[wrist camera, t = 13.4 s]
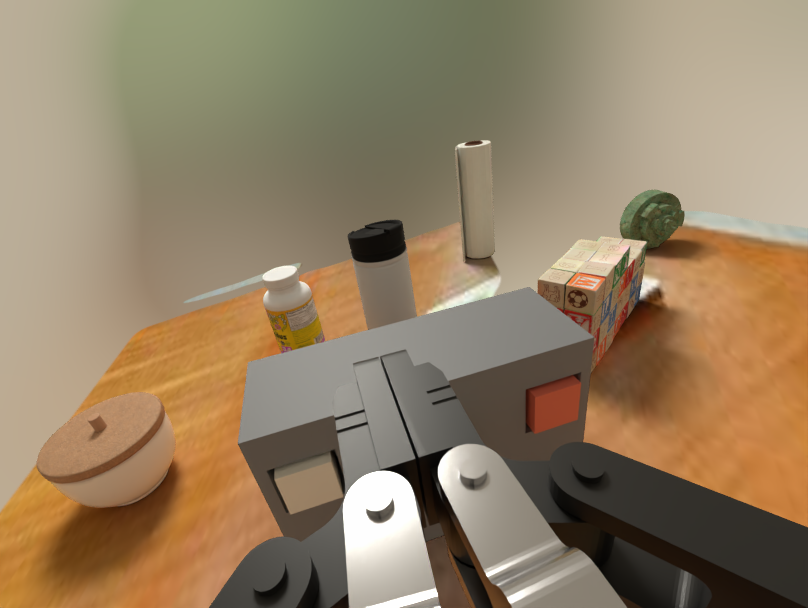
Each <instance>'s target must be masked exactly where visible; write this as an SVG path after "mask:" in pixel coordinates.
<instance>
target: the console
mask: <svg viewBox="0 0 808 608" xmlns="http://www.w3.org/2000/svg"><path fill="white" fill-rule="evenodd" d="M593 346H594V336H592V335H591V334H590V333H588V332H587V331H586V330H584V329H583V328H582V327H581V326H579V325H578V324H577V323H575V322H574V321H573V320H571V319H570V318H569V317H568V316H566V315H565V314H564V313H562V312H561V311H560V310H559V309H557V308H556V307H555V306H553V305H552V304H551V303H549V302H548V301H547V300H546V299H544V298H543V297H542V296H540V295H539V294H538V293H536V292H535V291H534V290H533V289H531V288H530V287H527V288H523V289H520V290H516V291H512V292H509V293H505V294H501V295H497V296H494V297H490V298H486V299H482V300H479V301H475V302H471V303H467V304H464V305H460V306H456V307H453V308H449V309H445V310H441V311H438V312H434V313H430V314H426V315H423V316H419V317H415V318H411V319H408V320H404V321H400V322H397V323H393V324H389V325H385V326H382V327H378V328H374V329H370V330H367V331H363V332H359V333H356V334H352V335H348V336H344V337H341V338H337V339H333V340H329V341H326V342H322V343H318V344H314V345H311V346H307V347H303V348H300V349H296V350H292V351H288V352H285V353H281V354H277V355H273V356H270V357H266V358H262V359H259V360H255V361H251V362H248V368H247V376H246V383H245V391H244V399H243V407H242V415H241V423H240V431H239V439H238V445H239V447H240V449H241V451H242V453H243V455H244V457H245V459H246V461H247V463H248V465H249V467H250V469H251V471H252V473H253V475H254V477H255V479H256V481H257V483H258V485H259V487H260V489H261V491H262V493H263V495H264V497H265V499H266V501H267V503H268V505H269V507H270V509H271V511H272V513H273V515H274V517H275V519H276V521H277V524H278V526H279V528H280V530H281V532H282V534H283V536H284V537H291V538H295V539H297V540H299V541H300V542H302V541H303V540H305V539H306V538H307V537H309V536H310V535H312V534H313V533H315V532H316V531H318V530H319V529H320V528H322V527H323V526H324V525H326V524H327V523H328V522H329V521H330V520H331V519H332V518H333V517H334V515H335V514H336V513H337V511H338V510H339V508H340V506H341V504H342V502H343V499H344V495H345V479H344V472H343V466H342V460H341V454H340V448H339V441H338V435H337V429H336V423H335V417H334V410H333V404H332V402H333V399H334V396H335V393H336V391H337V388H338V387H340V386H343V385H347V384H351V383H354V382H357V380H356V375H355V371H354V367H353V363H356V362H360V361H363V360H367V359H371V358H375V357H379V359H380V356H382V355H386V354H389V353H393V352H397V351H401V350H405V349H406V350H407V352H408V354H409V356H410V358H411V360H412V363H413V365H414V366H416V365H420V364H423V363H427V362H430V363H431V364H432V365H434V366H435V367H437V368H438V369H440V370H441V371H443V373H444V375H445V377H446V378H447V380H448V382H449V384H450V387H452V389H453V391H454V393H455V394H456V397H457V398H458V400H459V401H460V403H461V405H462V407H463V408H464V410H465V412H466V414H467V415H468V417H469V419H470V421H471V422H472V424H473V426H474V428H475V429H476V431H477V433H478V435H479V436H480V438H481V440H482V441H483V443H484V444H485V445H486V446H487V447H488V448H490V449H492V450H493V451H495V452H496V453H497V454H498V455H499V456H502V457H504V458H507V459H511V460H516V461H550V458H551V455H552V454H553V452H554V451H555V450H556V449H557V448H558V447H560V446H561V445H564V444H566V443H571V442H583V439H584V430H585V420H586V411H587V402H588V393H589V383H590V374H591V365H592V355H593ZM380 362H381V360H380ZM571 375H573V376H574V377H575V378H576V379H578V380H579V381H580V382H581V390H580V401H579V411H578V420H575V421H572V422H569V423H566V424H563V425H560V426H557V427H554V428H551V429H548V430H545V431H542V432H539V433H536V434H534V433H533V431H532V430H531V429H530V427H529V426H528V425H527V423H526V422H525V420H526V389H529V388H532V387H535V386H539V385H542V384H545V383H548V382H551V381H555V380H558V379H561V378H564V377H567V376H571ZM331 450H334V453H335V456H336V459H337V462H338V466H339V472H340V479H341V485H342V492H343V497H342V498H339V499H336V500H333V501H330V502H327V503H324V504H321V505H318V506H315V507H312V508H309V509H306V510H303V511H300V512H297V513H294V514H291V515H290V513H289V510H288V508H287V506H286V504H285V502H284V500H283V497H282V495H281V493H280V491H279V489H278V487H277V484H276V482H275V480H274V470H275V468H276V467H280V466H283V465H286V464H289V463H292V462H296V461H299V460H302V459H305V458H308V457H312V456H315V455H318V454H321V453H324V452H328V451H331ZM424 513H425V511H424ZM425 519H426V525H427V527H426V528H423V529H424V535H425V541H426V542H427V541H429V540H432V539H435V538H438V537H440V536H443V535H444V533H443V530H442V527H441V525H440V523H437V524H434V525H431V526H429V523H428V520H427V517H426V514H425Z"/></svg>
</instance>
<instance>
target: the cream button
mask: <svg viewBox="0 0 808 608" xmlns="http://www.w3.org/2000/svg"><path fill="white" fill-rule="evenodd" d="M274 480H275V482H276V484H277V487H278V489H279V491H280V493H281V495H282V497H283V500H284V502H285V504H286V506H287V508H288V510H289V513H290V515H291V514H294V513H297V512H300V511H303V510H306V509H309V508H312V507H315V506H318V505H321V504H324V503H327V502H330V501H333V500H336V499H339V498H342V497H343V492H342V485H341V479H340V472H339V466H338V462H337V459H336V456H335V453H334V450H331V451H328V452H324V453H321V454H318V455H315V456H312V457H308V458H305V459H302V460H299V461H296V462H292V463H289V464H286V465H283V466H280V467H276V468H275V470H274Z"/></svg>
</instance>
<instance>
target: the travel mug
mask: <svg viewBox="0 0 808 608" xmlns="http://www.w3.org/2000/svg"><path fill="white" fill-rule="evenodd" d="M348 240H349V244H350V249H351V253H352V260H353V265H354V269H355V274H356V278H357V282H358V287H359V291H360V296H361V300H362V305H363V309H364V314H365V318H366V323H367V327H368V330H370V329H374V328H378V327H382V326H385V325H389V324H393V323H397V322H400V321H404V320H408V319H411V318H415V317H417V314H416V307H415V301H414V294H413V287H412V281H411V274H410V267H409V261H408V254H407V247H406V244H405V241H404V240H405V237H404V231H403V224H402V222H401V221H400V220H386V221H380V222H375V223H372V224H369V225H366V226H365V228H362V229H360V230H357V231H355V232H354V231H352V232H351V233H349V234H348Z"/></svg>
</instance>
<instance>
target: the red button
mask: <svg viewBox="0 0 808 608" xmlns="http://www.w3.org/2000/svg"><path fill="white" fill-rule="evenodd" d="M580 390H581V382H580V381H579V380H578V379H576V378H575V377H574V376H573V375H571V376H567V377H564V378H561V379H558V380H555V381H551V382H548V383H545V384H542V385H539V386H535V387H532V388H529V389H526V420H525V422H526V423H527V425H528V426H529V427H530V429H531V430H532V431H533V433H534V434H536V433H539V432H542V431H545V430H548V429H551V428H554V427H557V426H560V425H563V424H566V423H569V422H572V421H575V420H578V411H579V401H580Z"/></svg>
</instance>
